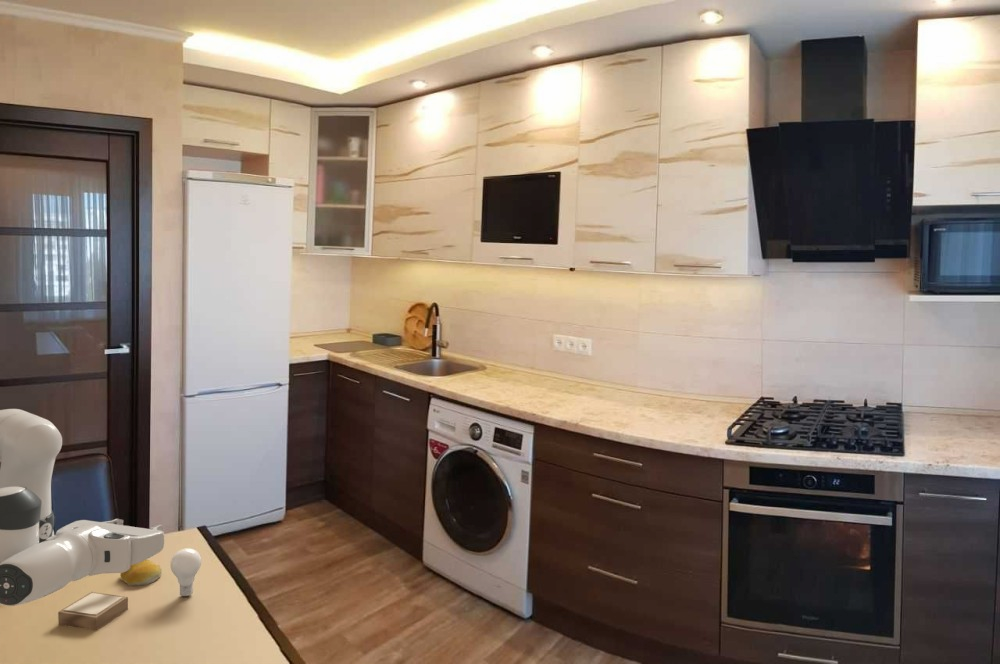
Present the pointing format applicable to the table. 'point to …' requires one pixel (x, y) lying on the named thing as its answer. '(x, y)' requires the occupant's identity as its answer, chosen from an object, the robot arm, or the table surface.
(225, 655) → the table surface
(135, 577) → the bread roll
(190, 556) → the lightbulb
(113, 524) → the robot arm
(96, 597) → the picture frame
